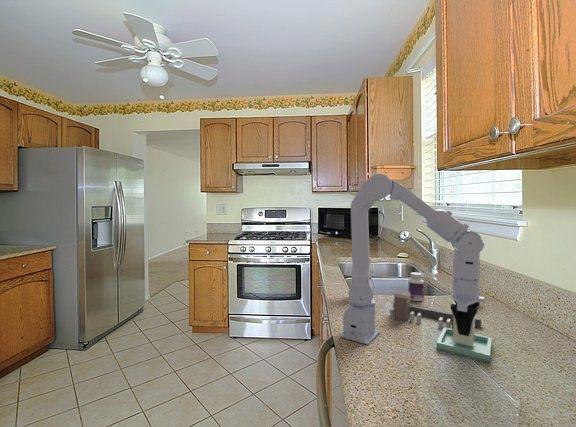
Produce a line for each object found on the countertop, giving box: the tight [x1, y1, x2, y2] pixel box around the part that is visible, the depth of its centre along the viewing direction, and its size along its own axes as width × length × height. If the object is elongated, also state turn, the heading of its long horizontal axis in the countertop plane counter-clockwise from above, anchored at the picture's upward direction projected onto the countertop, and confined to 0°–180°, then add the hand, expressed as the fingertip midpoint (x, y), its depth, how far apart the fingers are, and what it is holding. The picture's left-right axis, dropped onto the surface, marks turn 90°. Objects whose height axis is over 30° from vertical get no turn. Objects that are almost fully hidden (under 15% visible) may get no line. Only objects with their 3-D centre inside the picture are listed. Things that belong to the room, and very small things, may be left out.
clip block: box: [389, 302, 482, 329], centre depth 92 cm, size 9×25×2 cm, turn 54°
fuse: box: [393, 290, 411, 323], centre depth 94 cm, size 4×4×8 cm
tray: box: [435, 326, 493, 364], centre depth 76 cm, size 11×11×2 cm
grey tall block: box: [453, 308, 476, 346], centre depth 75 cm, size 4×4×8 cm
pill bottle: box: [407, 271, 425, 302], centre depth 112 cm, size 5×5×10 cm
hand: (464, 331), depth 75 cm, fingers closed on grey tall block, 4 cm apart
